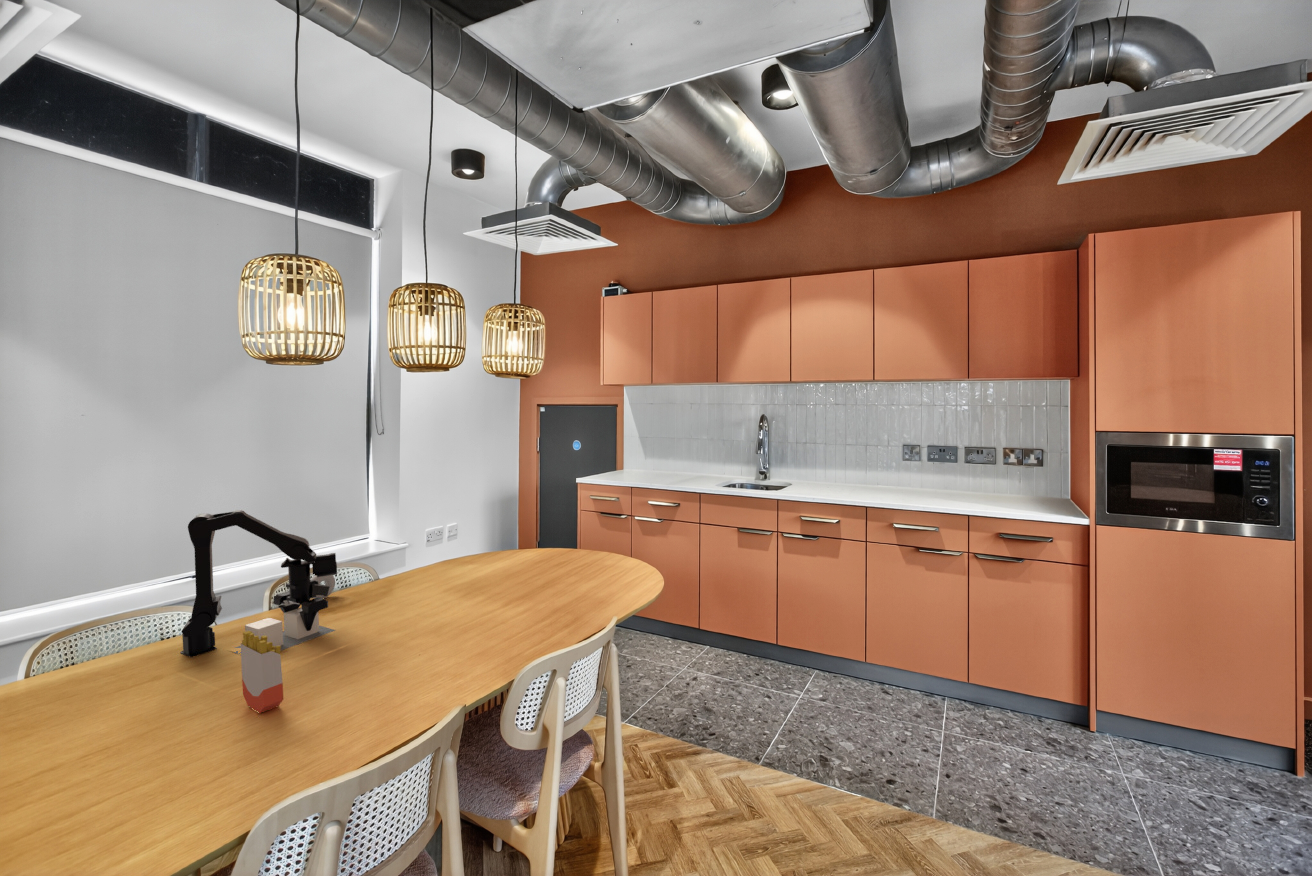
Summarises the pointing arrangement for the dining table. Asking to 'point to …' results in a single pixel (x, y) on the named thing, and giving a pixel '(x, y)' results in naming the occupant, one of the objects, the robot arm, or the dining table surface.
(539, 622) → the dining table surface
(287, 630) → the closed white box
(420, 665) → the dining table surface
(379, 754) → the dining table surface
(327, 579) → the donut
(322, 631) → the mat
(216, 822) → the dining table surface
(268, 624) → the white cube
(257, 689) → the french fries container
